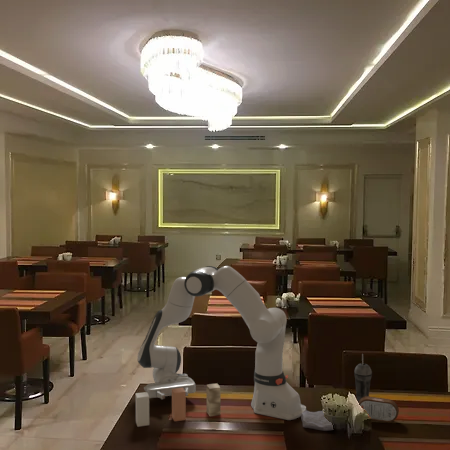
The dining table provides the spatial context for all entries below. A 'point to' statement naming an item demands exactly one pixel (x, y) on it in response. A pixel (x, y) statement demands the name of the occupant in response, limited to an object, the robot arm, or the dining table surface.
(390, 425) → the dining table surface
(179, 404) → the terracotta block
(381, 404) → the tin
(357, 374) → the beverage cup
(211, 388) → the birch block
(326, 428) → the stone block
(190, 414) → the dining table surface
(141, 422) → the white block
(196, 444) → the dining table surface
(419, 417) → the dining table surface
